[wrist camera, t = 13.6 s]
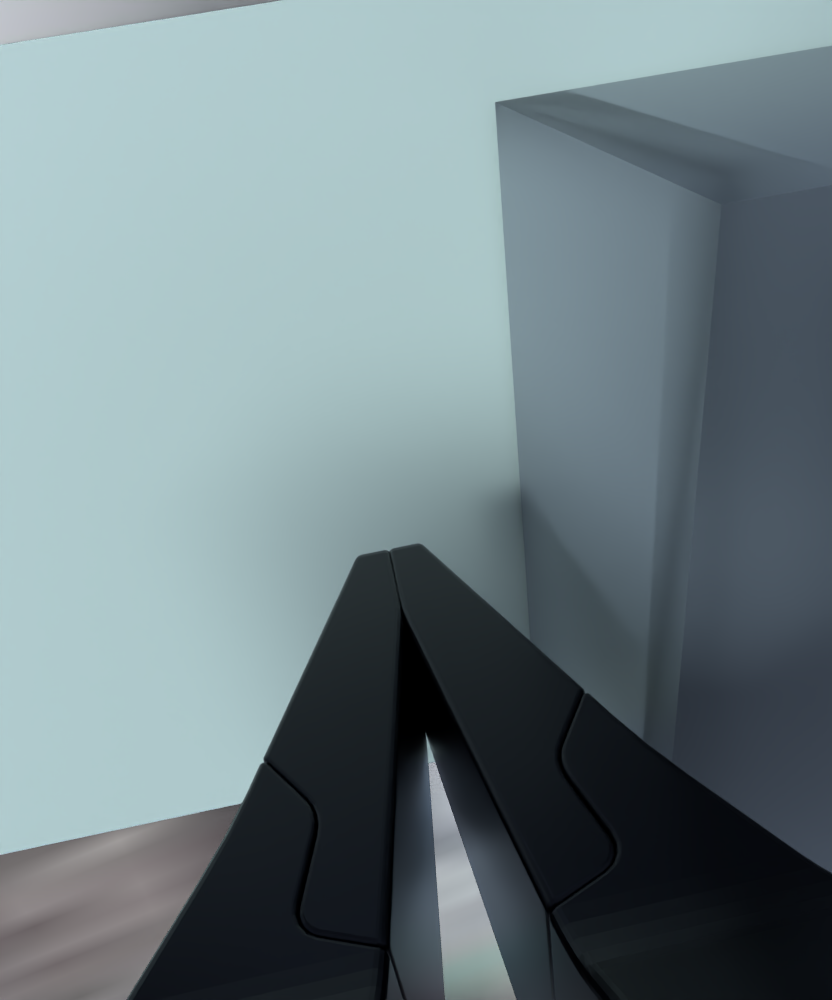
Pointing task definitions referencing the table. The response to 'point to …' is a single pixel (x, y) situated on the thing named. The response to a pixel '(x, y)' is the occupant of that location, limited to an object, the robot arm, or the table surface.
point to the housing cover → (683, 414)
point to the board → (261, 356)
